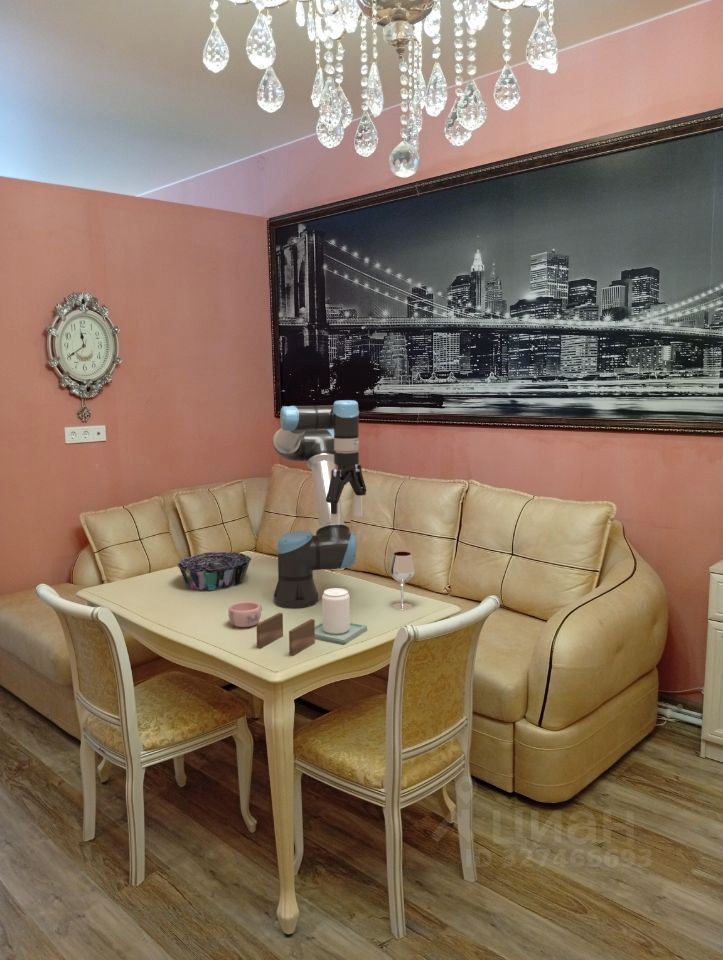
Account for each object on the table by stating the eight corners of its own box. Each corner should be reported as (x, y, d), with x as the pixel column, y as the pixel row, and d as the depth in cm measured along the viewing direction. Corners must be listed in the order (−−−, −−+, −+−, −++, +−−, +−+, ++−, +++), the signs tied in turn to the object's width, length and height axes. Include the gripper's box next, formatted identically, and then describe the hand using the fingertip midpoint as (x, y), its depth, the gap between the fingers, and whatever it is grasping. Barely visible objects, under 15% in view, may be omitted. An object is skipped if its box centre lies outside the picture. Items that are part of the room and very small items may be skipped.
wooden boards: (257, 647, 214) (256, 624, 213) (279, 635, 223) (279, 612, 222) (293, 656, 208) (292, 631, 207) (314, 642, 217) (314, 619, 216)
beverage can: (346, 636, 220) (346, 596, 218) (319, 634, 222) (319, 595, 220) (352, 626, 228) (352, 588, 226) (326, 624, 230) (325, 586, 228)
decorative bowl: (265, 584, 280) (266, 558, 279) (210, 598, 258) (210, 569, 257) (217, 573, 295) (218, 548, 294) (161, 585, 273) (161, 558, 272)
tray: (304, 636, 222) (304, 631, 222) (328, 622, 234) (328, 617, 234) (343, 644, 216) (343, 639, 215) (367, 630, 227) (367, 625, 227)
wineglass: (388, 603, 252) (388, 550, 249) (412, 602, 253) (412, 550, 250) (391, 611, 244) (391, 557, 241) (416, 610, 245) (416, 556, 242)
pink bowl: (243, 632, 226) (243, 613, 225) (222, 625, 232) (221, 607, 231) (272, 621, 235) (272, 603, 234) (251, 615, 241) (250, 597, 240)
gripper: (335, 457, 217) (336, 529, 220) (376, 447, 238) (377, 513, 241) (313, 455, 220) (314, 526, 224) (356, 446, 242) (356, 511, 245)
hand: (347, 520), depth 233 cm, fingers open, 13 cm apart
